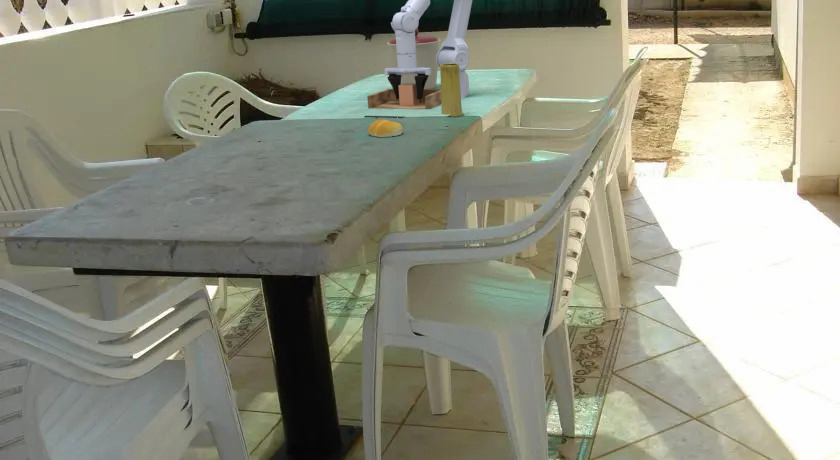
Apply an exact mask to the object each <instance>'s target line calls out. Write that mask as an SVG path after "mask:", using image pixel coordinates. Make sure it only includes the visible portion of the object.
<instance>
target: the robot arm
mask: <svg viewBox="0 0 840 460" xmlns="http://www.w3.org/2000/svg"><path fill="white" fill-rule="evenodd" d="M430 5H431V0H407V1H406V3H405V5H404V6H401V8H400V12H396V13H394V15H393V18H392V21H391V22H390V25H391V28H392V30H393V31H394V36H395V38H396V47H397V62H398V68H393V67H386V68H384V69H383V70H384V76H387V80H388V82H389V84H390V85H391V87H392V88H391V89H393V90H394V93H395V96H396V99H399V86H398V85H401V76H402V75H418V76H414V78H415V82H416V87H417V99H422V96H423V90H424V87H425V84H426V81H427V79H428V75H430V74H431V68H423V67H417V60H416V44H415V29H418V27H419V20H420V19H421V17H422V16H423V15H424V13H425V11H427V9H428V8H429V6H430ZM472 5H473V0H453V5H452V11H451V15H450V21H449V24H448V25H449V26H448V30H447V31H448V32H447V35H446V38H445V39H444V41H442V43H441V44H440V48H439V52H438V53H437V56H436V62H437V64H438V67H439V68H440V65H441V64H448V63H457V64H459V77H460V92H461V99H465V98H466V97H467V96H469V95H470V88H469V87H470V85H469V84H470V83H469V82H470V80H469V75H468V73H467V71H466V69H467V68H468V65H469V61H470V58H469V48H470V47H469V46H468V44H467V43H466V41H465V40H466V36H467V30H468V25H469V19H470V15H471V8H472ZM401 72H413V73H401Z"/></svg>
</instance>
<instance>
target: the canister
mask: <svg viewBox="0 0 840 460" xmlns="http://www.w3.org/2000/svg"><path fill="white" fill-rule="evenodd" d="M441 41H442V40H441V39H440V38H438V37H437V36H434V35H423V34H421V35H420V34H419V29H418V28H417V29H415V44H416V60H417V67H423V68H431V74H430V75H428V79H427V81H426V84H425V87H424V89H435V87H436V85H437V81H438V69H439V68H438V67H439V66H438V64H437V62H436V56H437V53H438V52H439V50H440V48H439V47H440V43H441ZM386 45H387V46H388V48H389V49H388V50H389V55H390V59H391V66H392V67H391V68H398V62H397V47H396V37H394V38H392V39H390V40H389V41H387V43H386ZM401 73H413V72H401ZM414 76H418V75H402V76H401V84H404V83H416V82H415V78H414Z"/></svg>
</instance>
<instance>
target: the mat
mask: <svg viewBox="0 0 840 460" xmlns="http://www.w3.org/2000/svg"><path fill="white" fill-rule="evenodd" d="M397 117H398V118H397ZM364 118H371V119H372V118H373V119H374V118H376V119H379V118H380V119H381V118H382V119H387V118H388V119H404V118H405V115H404V116H402V115H401V116H398V115H397V116H396V115H395V116H393V115H391V116H389V115H364Z"/></svg>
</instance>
